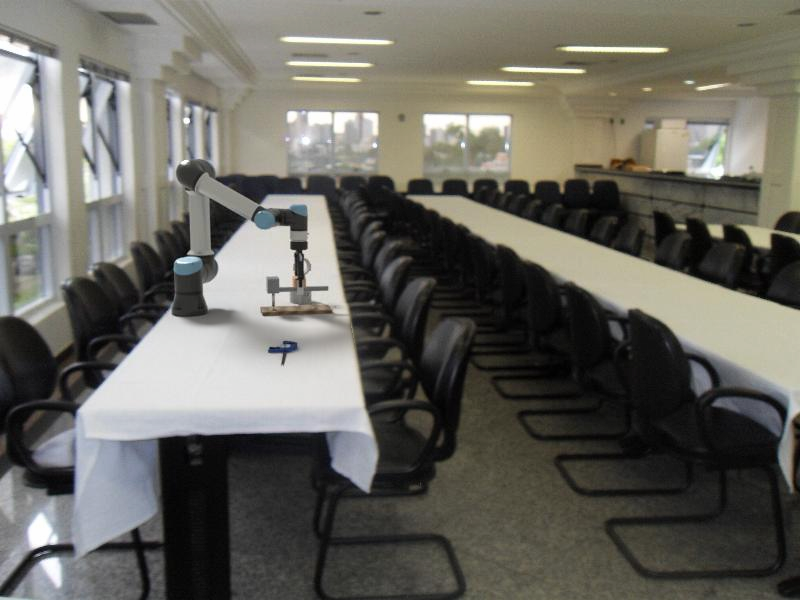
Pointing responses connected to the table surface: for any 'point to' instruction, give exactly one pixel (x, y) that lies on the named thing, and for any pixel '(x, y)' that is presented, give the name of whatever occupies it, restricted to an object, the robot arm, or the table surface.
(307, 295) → the engine component
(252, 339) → the table surface
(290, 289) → the grey piece
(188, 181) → the robot arm
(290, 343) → the bar clamp
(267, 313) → the hole plate
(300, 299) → the block
